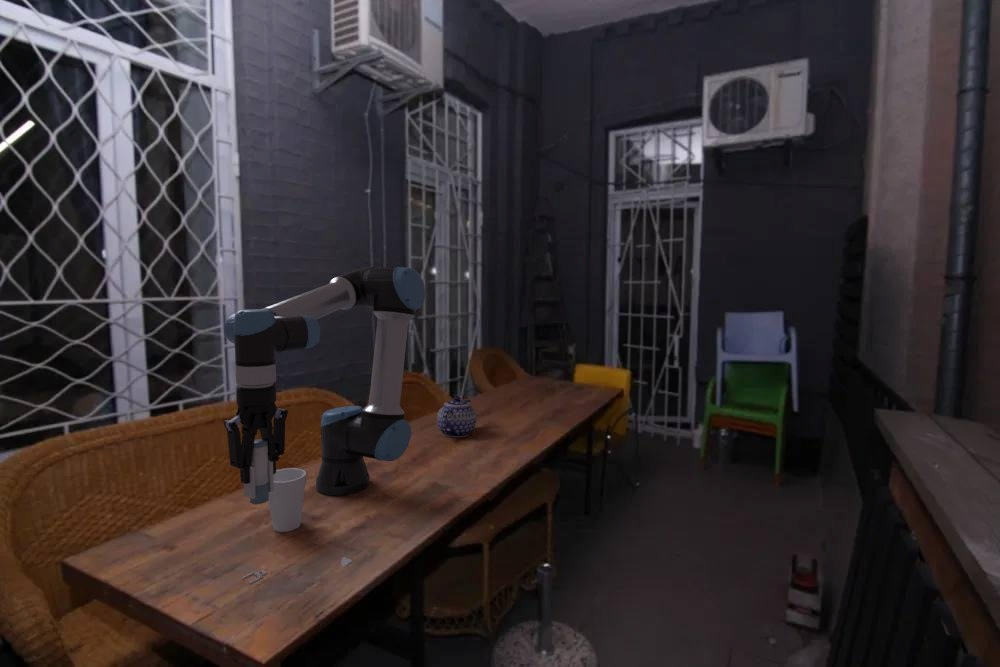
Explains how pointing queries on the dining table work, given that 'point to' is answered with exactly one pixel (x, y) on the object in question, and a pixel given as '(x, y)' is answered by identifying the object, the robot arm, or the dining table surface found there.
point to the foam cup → (287, 499)
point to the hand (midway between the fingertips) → (259, 493)
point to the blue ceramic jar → (456, 418)
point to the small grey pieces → (343, 562)
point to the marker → (260, 471)
